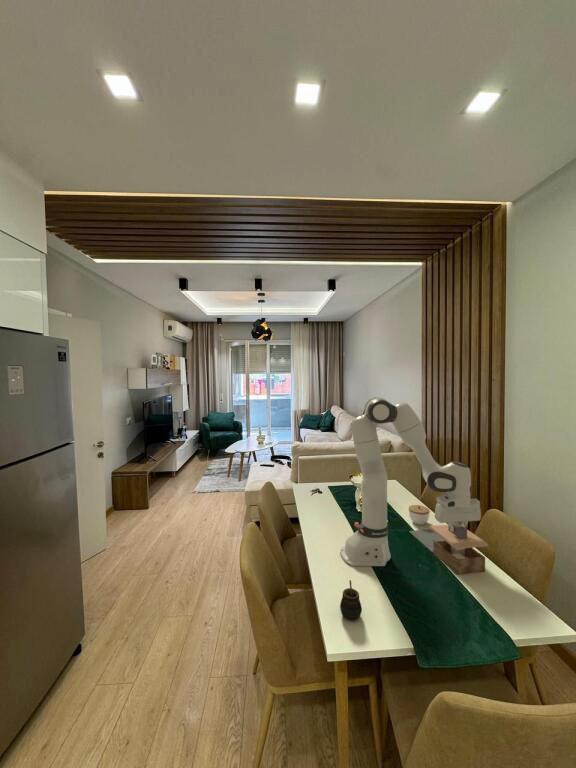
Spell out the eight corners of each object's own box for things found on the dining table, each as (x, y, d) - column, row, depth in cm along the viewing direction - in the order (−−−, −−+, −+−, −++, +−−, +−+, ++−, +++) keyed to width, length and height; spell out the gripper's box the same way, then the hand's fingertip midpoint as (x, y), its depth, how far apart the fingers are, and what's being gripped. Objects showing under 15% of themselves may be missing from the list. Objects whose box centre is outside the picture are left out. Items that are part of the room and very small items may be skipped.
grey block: (456, 558, 145) (456, 549, 145) (450, 553, 149) (450, 544, 149) (464, 557, 146) (464, 548, 146) (458, 552, 150) (458, 544, 150)
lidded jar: (424, 518, 187) (425, 502, 187) (432, 527, 176) (432, 509, 176) (405, 518, 187) (406, 501, 187) (412, 526, 177) (412, 509, 176)
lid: (455, 548, 133) (456, 536, 133) (429, 528, 151) (429, 517, 151) (488, 546, 136) (488, 534, 136) (458, 525, 154) (459, 515, 153)
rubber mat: (432, 552, 152) (432, 551, 152) (409, 531, 171) (409, 531, 171) (467, 548, 155) (467, 548, 155) (440, 529, 174) (440, 528, 174)
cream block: (457, 568, 138) (457, 559, 137) (451, 563, 142) (451, 554, 141) (465, 567, 138) (465, 558, 138) (459, 562, 142) (459, 553, 142)
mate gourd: (342, 624, 108) (342, 594, 108) (338, 608, 116) (337, 580, 116) (364, 623, 109) (364, 593, 109) (358, 607, 116) (358, 579, 116)
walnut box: (456, 574, 135) (457, 560, 135) (433, 553, 151) (433, 540, 150) (484, 571, 137) (485, 557, 137) (458, 551, 153) (459, 538, 153)
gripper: (474, 495, 148) (473, 525, 148) (433, 497, 144) (432, 528, 145) (485, 501, 141) (484, 532, 142) (442, 503, 138) (441, 535, 139)
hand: (457, 530), depth 143 cm, fingers closed on lid, 3 cm apart
